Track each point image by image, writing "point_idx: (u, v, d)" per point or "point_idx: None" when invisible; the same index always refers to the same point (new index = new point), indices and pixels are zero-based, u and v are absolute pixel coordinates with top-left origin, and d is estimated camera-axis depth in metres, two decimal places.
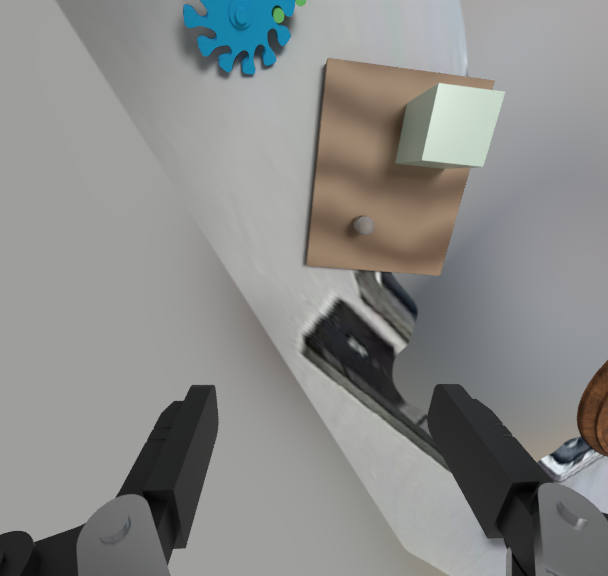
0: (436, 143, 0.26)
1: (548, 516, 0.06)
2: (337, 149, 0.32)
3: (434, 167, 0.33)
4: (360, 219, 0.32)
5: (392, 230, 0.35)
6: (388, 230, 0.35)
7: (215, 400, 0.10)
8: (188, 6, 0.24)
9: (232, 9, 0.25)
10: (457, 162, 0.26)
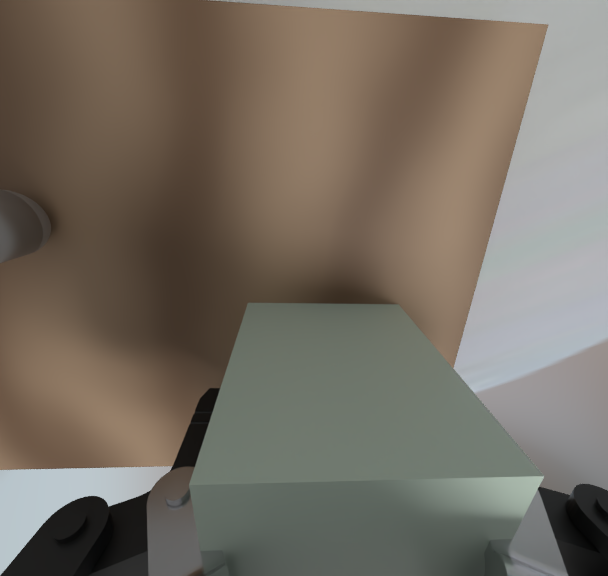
0: (281, 521, 0.05)
1: None
2: (265, 95, 0.09)
3: None
4: None
5: (53, 330, 0.11)
6: (49, 320, 0.11)
7: None
8: None
9: None
10: None
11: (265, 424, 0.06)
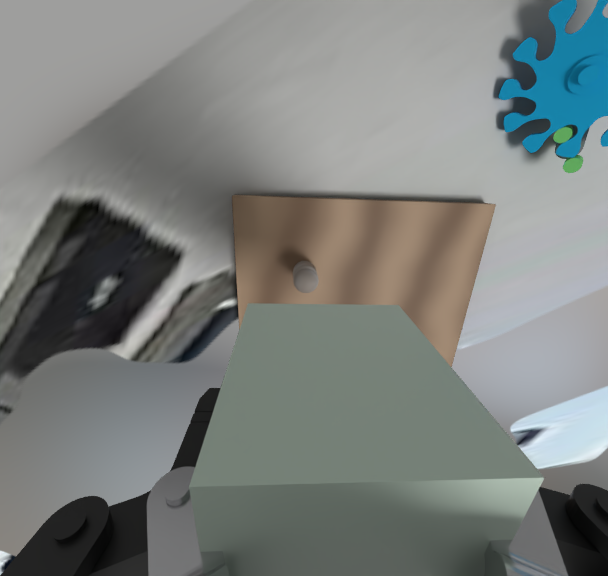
0: (281, 523, 0.05)
1: None
2: (396, 227, 0.24)
3: None
4: (314, 271, 0.22)
5: None
6: None
7: None
8: None
9: (600, 61, 0.18)
10: None
11: (265, 425, 0.06)
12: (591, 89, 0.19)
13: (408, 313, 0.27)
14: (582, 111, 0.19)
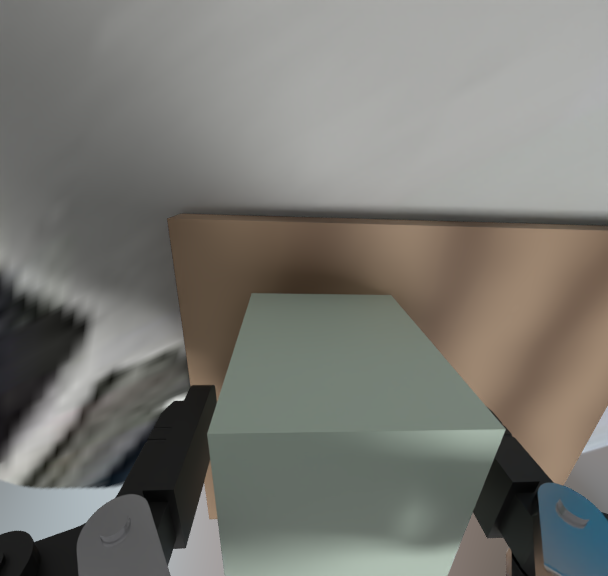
0: (284, 468, 0.06)
1: (548, 516, 0.06)
2: (501, 277, 0.12)
3: None
4: None
5: None
6: None
7: (215, 400, 0.10)
8: None
9: None
10: (226, 540, 0.07)
11: (270, 390, 0.07)
12: None
13: (501, 420, 0.15)
14: None
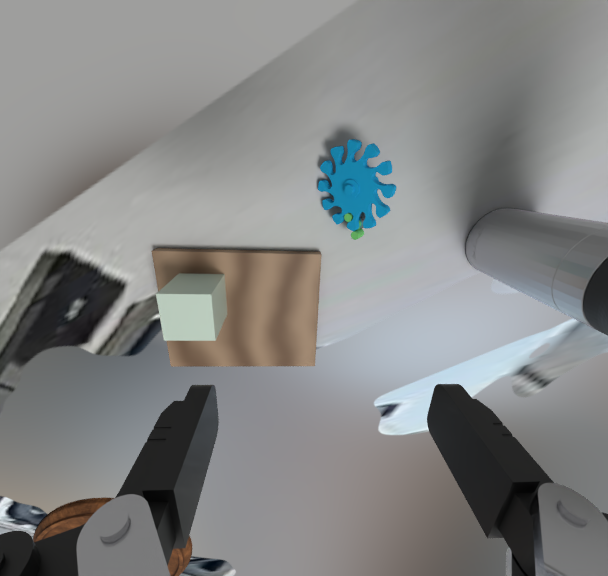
0: (171, 302, 0.32)
1: (548, 516, 0.06)
2: (259, 268, 0.38)
3: None
4: None
5: None
6: None
7: (215, 400, 0.10)
8: (359, 146, 0.30)
9: (353, 183, 0.32)
10: (162, 321, 0.33)
11: (170, 289, 0.32)
12: (353, 196, 0.33)
13: (278, 322, 0.41)
14: (352, 206, 0.33)
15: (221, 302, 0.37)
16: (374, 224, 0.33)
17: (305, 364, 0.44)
